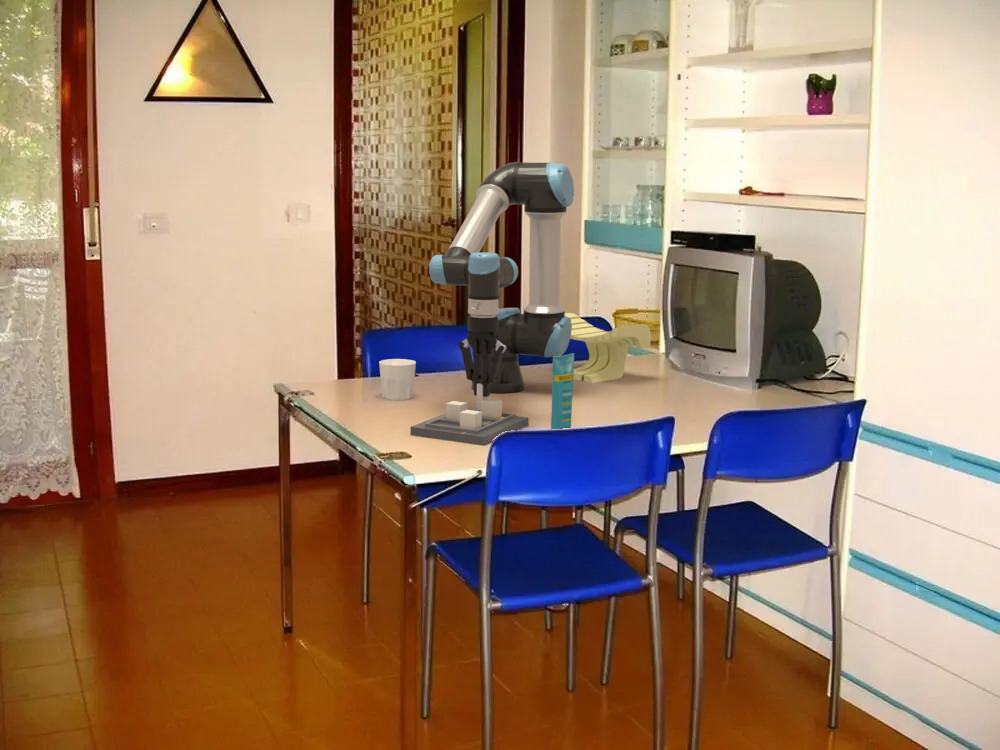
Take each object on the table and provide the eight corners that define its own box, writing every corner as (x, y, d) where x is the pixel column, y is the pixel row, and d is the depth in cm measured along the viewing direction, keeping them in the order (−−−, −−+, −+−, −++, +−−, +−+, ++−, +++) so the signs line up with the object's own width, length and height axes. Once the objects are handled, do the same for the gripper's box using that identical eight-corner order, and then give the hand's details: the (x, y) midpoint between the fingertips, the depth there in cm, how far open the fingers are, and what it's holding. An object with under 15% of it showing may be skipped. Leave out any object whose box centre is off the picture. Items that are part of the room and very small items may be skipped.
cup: (421, 399, 324) (422, 363, 323) (389, 402, 319) (389, 366, 317) (405, 392, 333) (405, 357, 331) (373, 395, 328) (373, 360, 326)
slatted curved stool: (648, 381, 356) (651, 322, 353) (614, 387, 345) (616, 327, 342) (575, 367, 378) (577, 312, 374) (541, 372, 367) (542, 316, 363)
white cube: (459, 428, 280) (459, 412, 279) (466, 425, 283) (467, 409, 283) (474, 430, 278) (474, 414, 278) (481, 427, 282) (481, 411, 281)
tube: (559, 435, 285) (561, 357, 281) (544, 432, 288) (546, 355, 284) (578, 430, 290) (580, 354, 287) (562, 427, 293) (564, 351, 290)
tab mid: (445, 419, 290) (446, 403, 289) (453, 416, 293) (453, 400, 292) (460, 421, 288) (460, 405, 287) (467, 418, 291) (467, 402, 290)
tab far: (480, 416, 293) (481, 401, 292) (487, 414, 296) (487, 398, 296) (495, 418, 291) (495, 402, 291) (501, 416, 295) (501, 400, 294)
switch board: (410, 434, 283) (410, 423, 282) (458, 416, 304) (458, 405, 304) (484, 445, 274) (484, 433, 274) (528, 425, 295) (528, 414, 295)
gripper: (452, 315, 290) (451, 408, 294) (499, 319, 284) (497, 414, 289) (467, 311, 297) (466, 403, 301) (513, 315, 291) (511, 409, 295)
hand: (481, 408), depth 295 cm, fingers closed
